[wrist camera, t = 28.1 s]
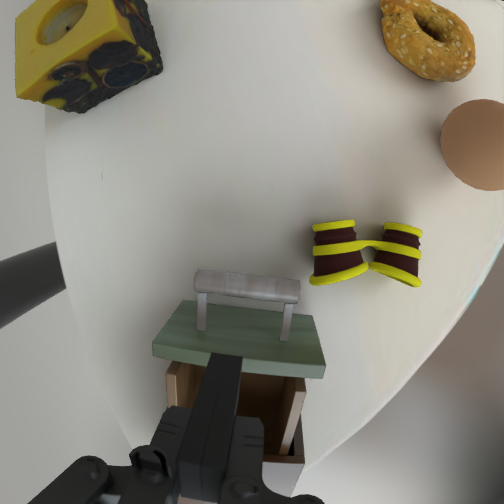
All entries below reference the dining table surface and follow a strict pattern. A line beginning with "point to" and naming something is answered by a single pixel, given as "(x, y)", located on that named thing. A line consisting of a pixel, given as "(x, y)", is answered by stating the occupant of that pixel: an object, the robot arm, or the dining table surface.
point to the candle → (83, 51)
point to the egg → (476, 143)
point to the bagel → (428, 39)
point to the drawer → (245, 350)
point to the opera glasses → (349, 256)
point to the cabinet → (277, 468)
